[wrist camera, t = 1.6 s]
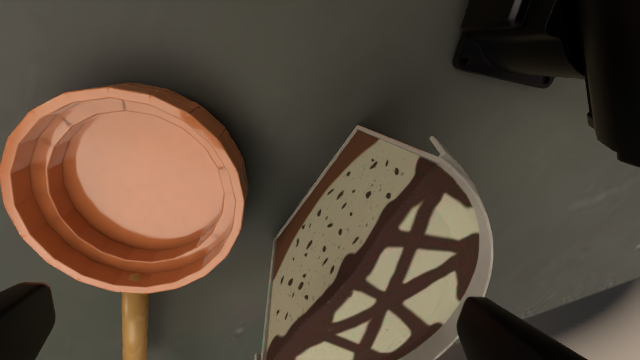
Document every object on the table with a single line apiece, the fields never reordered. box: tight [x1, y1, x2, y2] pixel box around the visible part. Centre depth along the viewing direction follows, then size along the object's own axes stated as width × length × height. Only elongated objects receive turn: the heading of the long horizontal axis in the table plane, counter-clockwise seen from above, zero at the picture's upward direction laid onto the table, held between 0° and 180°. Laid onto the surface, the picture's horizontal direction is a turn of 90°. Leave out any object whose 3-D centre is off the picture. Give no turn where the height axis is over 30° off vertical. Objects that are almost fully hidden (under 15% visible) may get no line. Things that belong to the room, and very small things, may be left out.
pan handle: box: [122, 273, 149, 360], centre depth 20 cm, size 1×9×1 cm, turn 168°
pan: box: [0, 82, 248, 294], centre depth 18 cm, size 11×11×3 cm
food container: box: [254, 125, 493, 360], centre depth 17 cm, size 12×6×10 cm, turn 144°
